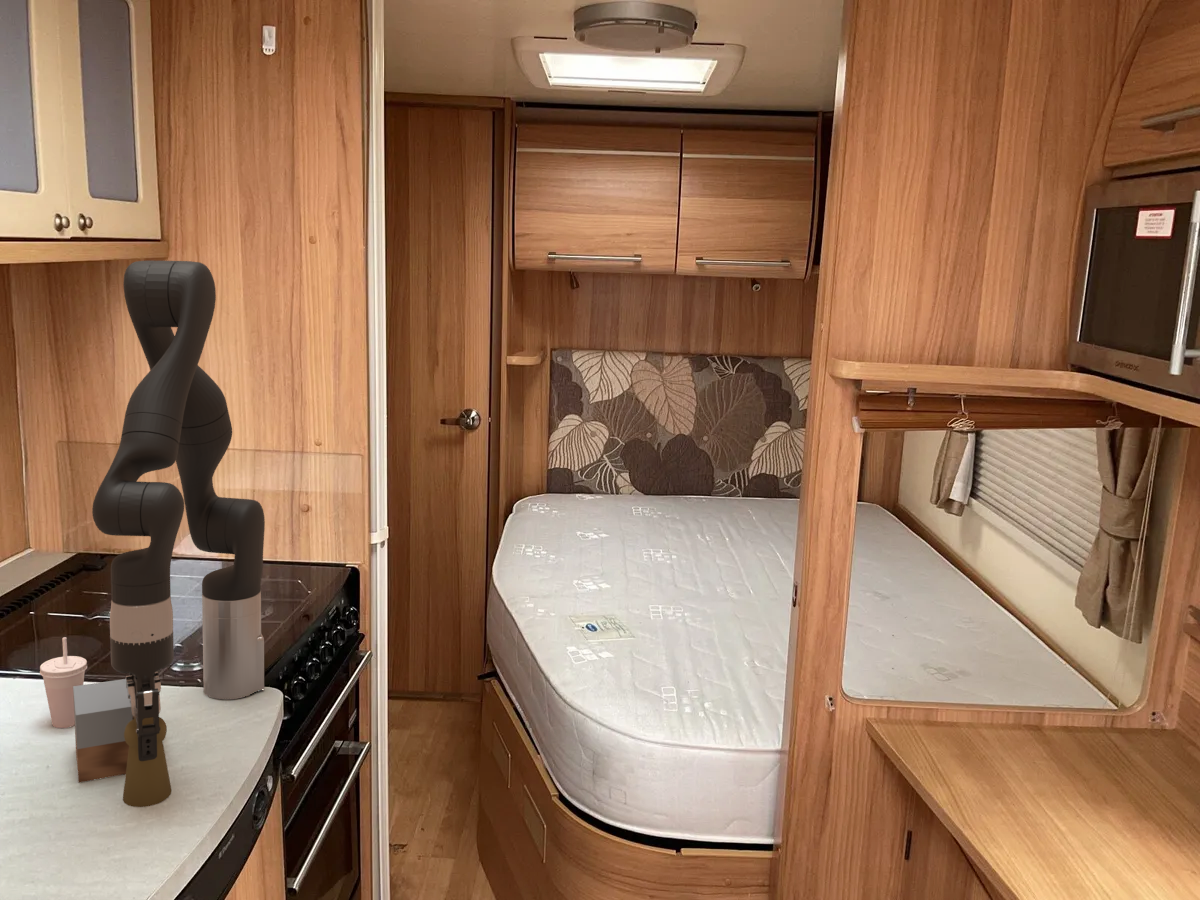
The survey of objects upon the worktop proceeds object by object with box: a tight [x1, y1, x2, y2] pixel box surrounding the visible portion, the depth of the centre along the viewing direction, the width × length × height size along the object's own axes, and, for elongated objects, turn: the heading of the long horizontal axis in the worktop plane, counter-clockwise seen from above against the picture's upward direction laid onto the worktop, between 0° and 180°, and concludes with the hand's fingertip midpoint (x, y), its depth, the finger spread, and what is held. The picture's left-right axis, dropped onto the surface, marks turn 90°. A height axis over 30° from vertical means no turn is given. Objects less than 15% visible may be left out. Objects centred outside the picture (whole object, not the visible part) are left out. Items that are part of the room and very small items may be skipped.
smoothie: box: [39, 636, 88, 729], centre depth 149 cm, size 6×6×14 cm
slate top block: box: [73, 678, 132, 749], centre depth 139 cm, size 10×10×5 cm
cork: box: [122, 716, 172, 808], centre depth 131 cm, size 6×6×11 cm
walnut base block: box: [74, 729, 129, 784], centre depth 140 cm, size 10×10×5 cm
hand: (144, 745), depth 130 cm, fingers open, 8 cm apart
